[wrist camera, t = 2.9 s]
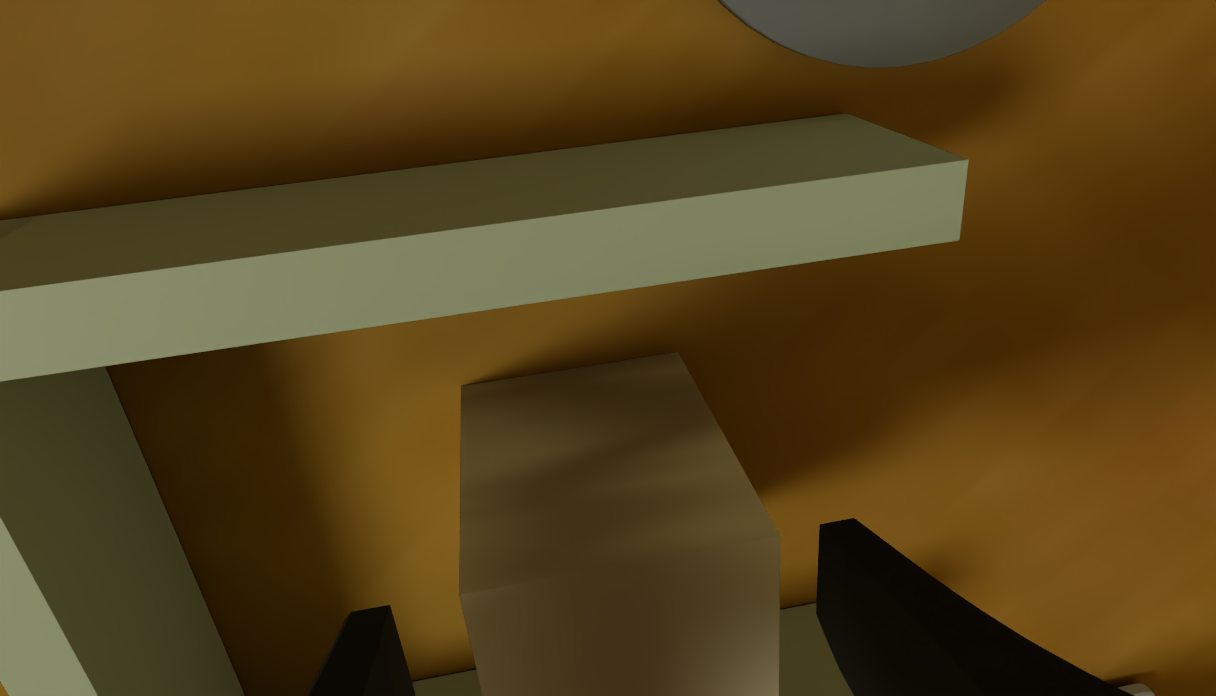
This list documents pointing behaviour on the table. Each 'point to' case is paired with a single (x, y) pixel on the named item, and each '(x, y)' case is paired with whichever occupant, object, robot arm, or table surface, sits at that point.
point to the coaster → (879, 27)
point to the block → (612, 539)
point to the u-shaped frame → (359, 298)
